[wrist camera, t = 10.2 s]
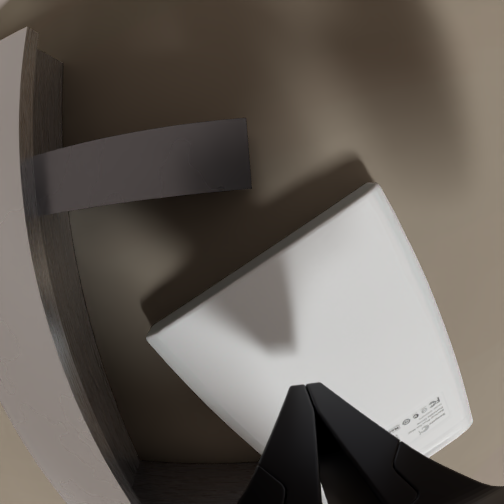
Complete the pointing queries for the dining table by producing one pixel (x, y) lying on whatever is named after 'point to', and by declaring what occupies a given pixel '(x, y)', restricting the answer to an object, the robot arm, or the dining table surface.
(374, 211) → the external hard drive
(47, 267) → the grey door handle
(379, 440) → the robot arm
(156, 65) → the dining table surface
